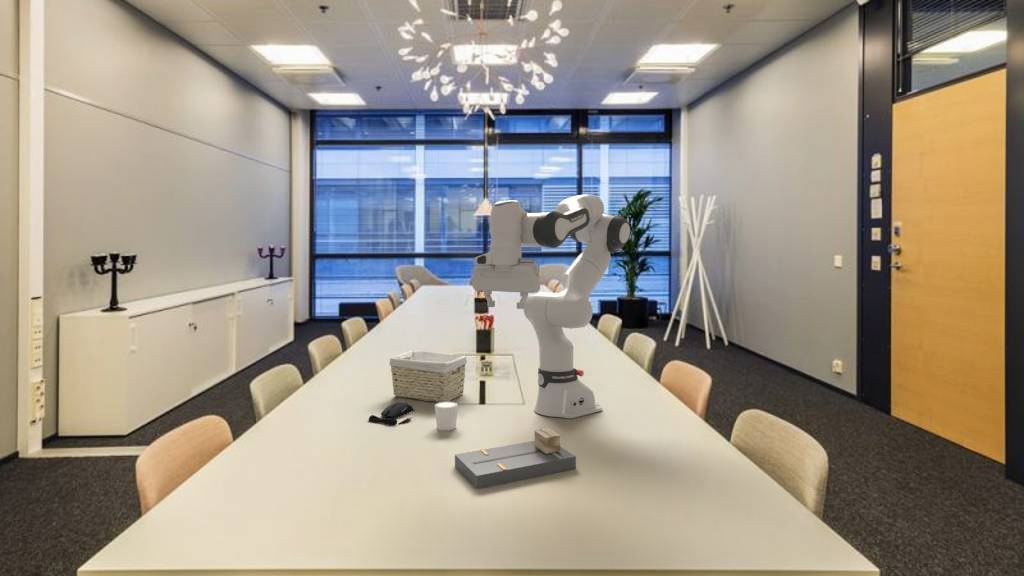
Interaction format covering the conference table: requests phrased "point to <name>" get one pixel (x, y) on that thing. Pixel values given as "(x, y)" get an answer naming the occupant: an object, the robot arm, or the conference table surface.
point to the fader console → (511, 464)
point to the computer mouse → (393, 413)
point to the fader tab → (547, 440)
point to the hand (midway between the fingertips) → (505, 307)
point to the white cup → (446, 415)
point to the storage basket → (428, 375)
